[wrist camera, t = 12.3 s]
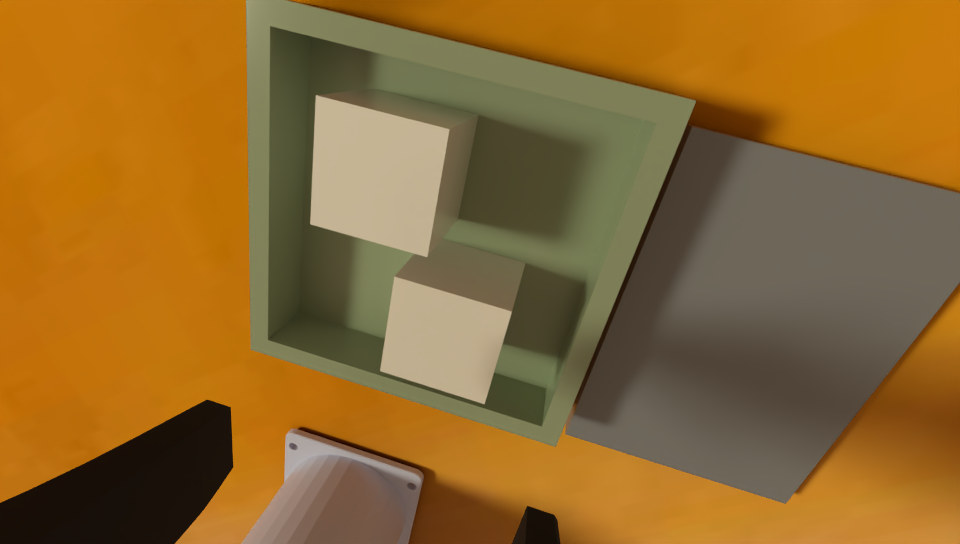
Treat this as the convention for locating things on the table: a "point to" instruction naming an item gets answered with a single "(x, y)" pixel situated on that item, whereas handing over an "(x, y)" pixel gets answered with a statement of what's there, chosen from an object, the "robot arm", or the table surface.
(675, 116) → the olive dish
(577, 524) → the table surface
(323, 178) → the stone cube near
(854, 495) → the table surface
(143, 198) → the table surface
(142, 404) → the table surface
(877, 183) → the slate board
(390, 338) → the stone cube far
